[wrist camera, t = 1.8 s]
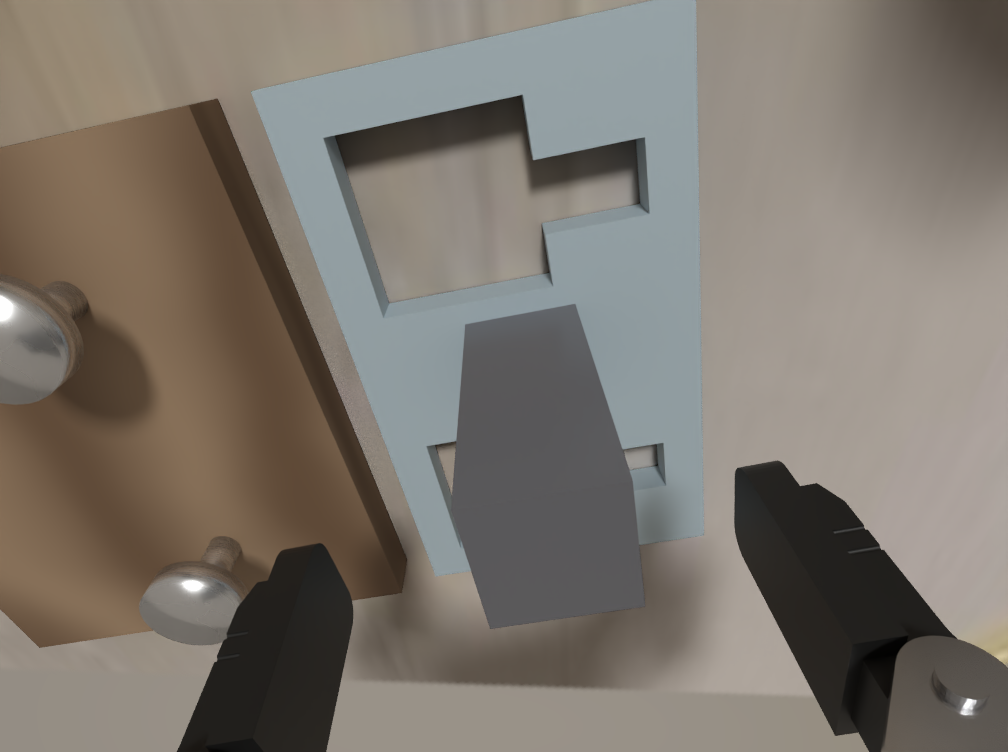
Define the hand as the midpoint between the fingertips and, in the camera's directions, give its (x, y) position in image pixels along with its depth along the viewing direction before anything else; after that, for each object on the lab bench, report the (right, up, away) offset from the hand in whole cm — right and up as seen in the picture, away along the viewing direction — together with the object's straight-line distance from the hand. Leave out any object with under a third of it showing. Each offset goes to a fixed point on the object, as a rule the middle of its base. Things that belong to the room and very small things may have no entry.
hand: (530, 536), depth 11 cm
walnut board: (-13, +2, +7) cm, 14 cm away
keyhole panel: (0, +4, +6) cm, 7 cm away
